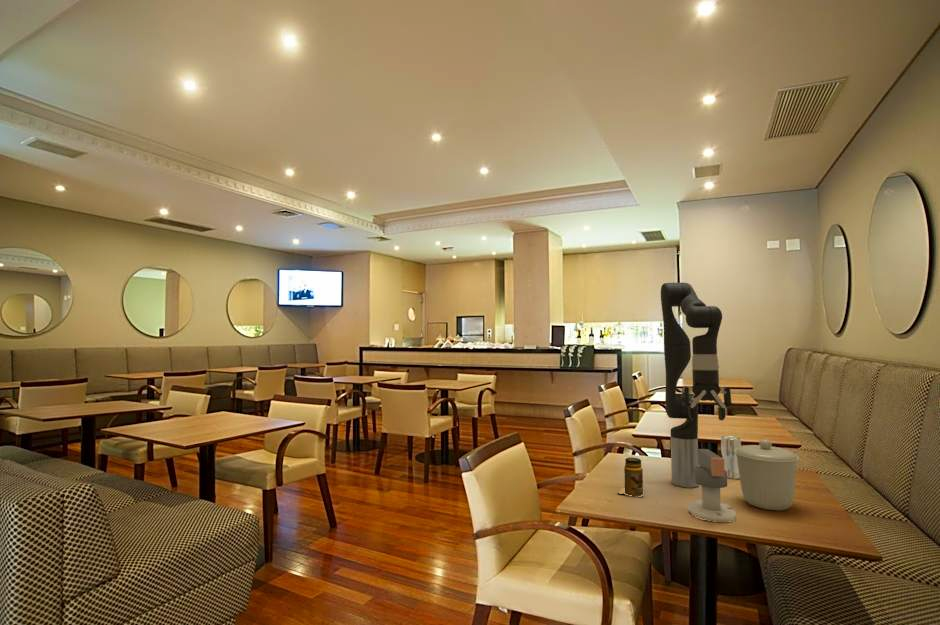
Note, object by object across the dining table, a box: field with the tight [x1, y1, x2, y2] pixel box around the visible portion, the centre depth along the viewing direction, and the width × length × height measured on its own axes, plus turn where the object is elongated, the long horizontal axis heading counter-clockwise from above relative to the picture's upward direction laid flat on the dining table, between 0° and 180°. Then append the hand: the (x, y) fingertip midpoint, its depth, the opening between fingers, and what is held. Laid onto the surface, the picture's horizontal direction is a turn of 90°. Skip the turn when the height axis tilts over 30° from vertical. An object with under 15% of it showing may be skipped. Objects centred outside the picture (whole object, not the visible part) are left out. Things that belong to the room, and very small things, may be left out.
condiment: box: [623, 457, 646, 496], centre depth 167 cm, size 7×8×12 cm
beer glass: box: [720, 435, 742, 480], centre depth 186 cm, size 7×7×15 cm
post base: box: [688, 486, 737, 523], centre depth 147 cm, size 13×13×9 cm
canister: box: [734, 438, 800, 511], centre depth 155 cm, size 18×18×21 cm
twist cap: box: [694, 448, 728, 489], centre depth 148 cm, size 12×9×9 cm
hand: (706, 419), depth 151 cm, fingers open, 8 cm apart
